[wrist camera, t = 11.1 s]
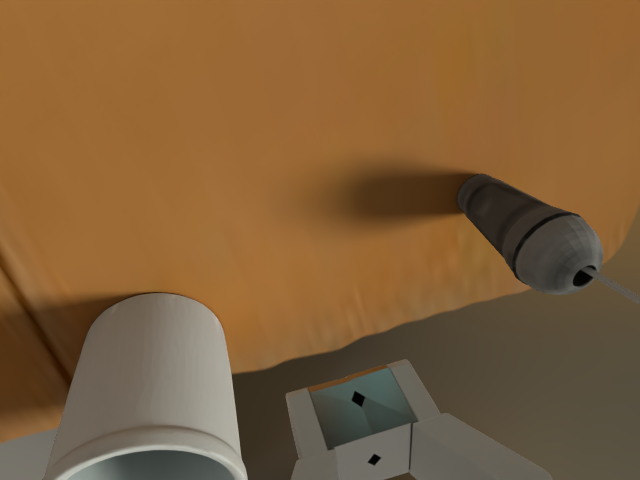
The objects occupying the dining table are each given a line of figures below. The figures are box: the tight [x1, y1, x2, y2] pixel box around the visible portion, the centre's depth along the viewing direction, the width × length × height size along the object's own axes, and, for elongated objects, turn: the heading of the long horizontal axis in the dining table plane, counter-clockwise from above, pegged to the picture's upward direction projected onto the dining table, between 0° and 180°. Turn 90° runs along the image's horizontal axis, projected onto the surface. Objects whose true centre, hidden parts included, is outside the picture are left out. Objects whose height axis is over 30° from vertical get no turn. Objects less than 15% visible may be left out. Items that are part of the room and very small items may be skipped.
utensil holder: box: [42, 293, 247, 480], centre depth 40 cm, size 15×15×18 cm
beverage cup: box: [457, 174, 640, 304], centre depth 40 cm, size 7×7×20 cm
